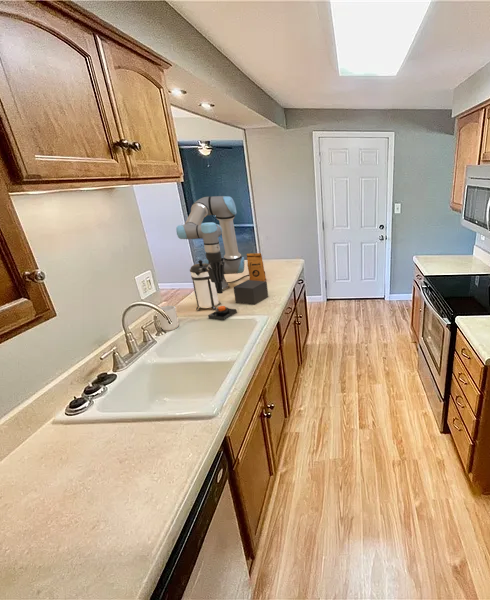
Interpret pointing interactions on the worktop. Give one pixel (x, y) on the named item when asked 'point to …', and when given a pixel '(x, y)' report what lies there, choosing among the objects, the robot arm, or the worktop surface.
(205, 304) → the coffee press
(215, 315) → the panel
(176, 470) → the worktop surface
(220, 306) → the button
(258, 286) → the dark grey box
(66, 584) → the worktop surface
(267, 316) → the worktop surface
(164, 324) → the mug
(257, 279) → the coffee package
